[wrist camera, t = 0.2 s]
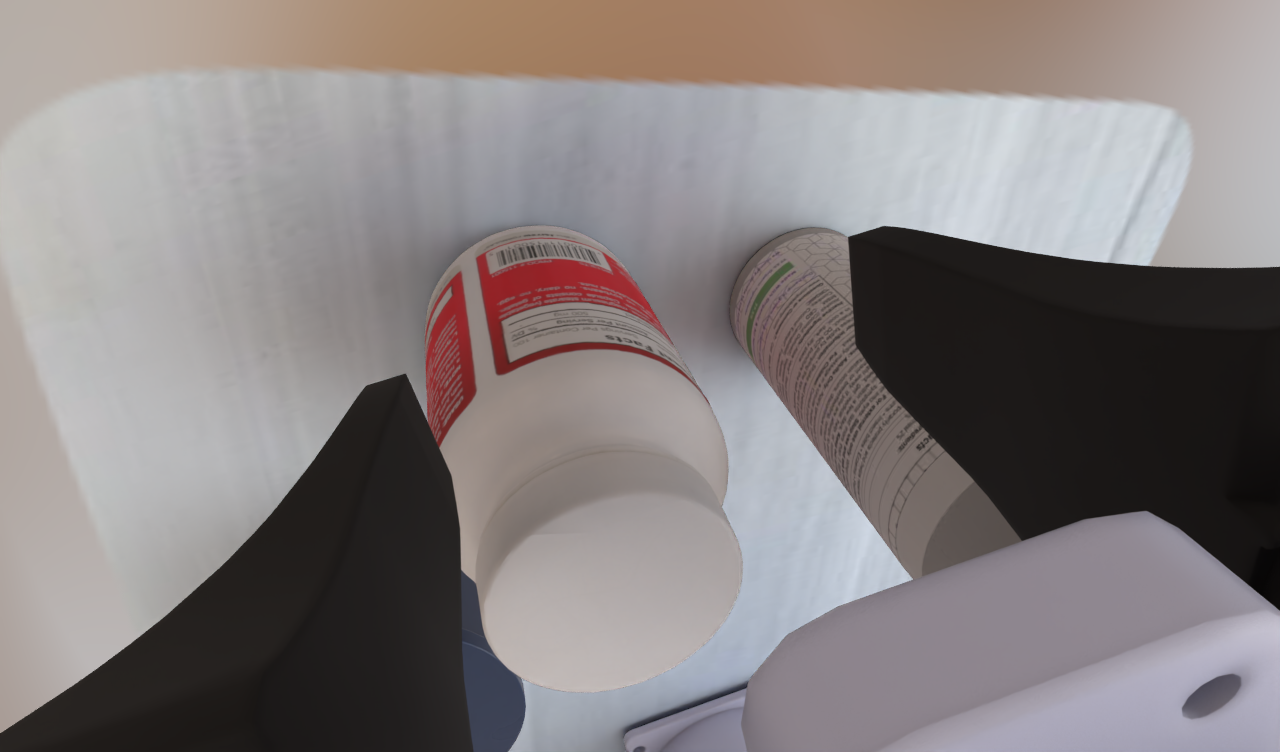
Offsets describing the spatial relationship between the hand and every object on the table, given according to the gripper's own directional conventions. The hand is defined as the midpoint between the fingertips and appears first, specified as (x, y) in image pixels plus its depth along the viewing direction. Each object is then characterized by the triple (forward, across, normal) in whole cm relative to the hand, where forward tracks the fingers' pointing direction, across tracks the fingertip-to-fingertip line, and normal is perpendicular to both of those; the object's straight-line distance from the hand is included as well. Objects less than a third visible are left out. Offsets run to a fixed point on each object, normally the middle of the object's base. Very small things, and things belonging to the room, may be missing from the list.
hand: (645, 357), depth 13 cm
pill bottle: (+10, +2, +4) cm, 11 cm away
